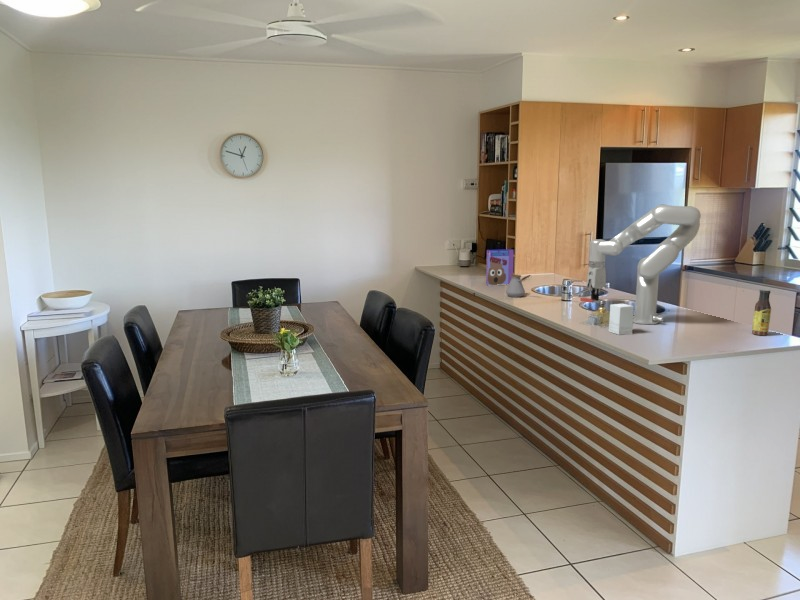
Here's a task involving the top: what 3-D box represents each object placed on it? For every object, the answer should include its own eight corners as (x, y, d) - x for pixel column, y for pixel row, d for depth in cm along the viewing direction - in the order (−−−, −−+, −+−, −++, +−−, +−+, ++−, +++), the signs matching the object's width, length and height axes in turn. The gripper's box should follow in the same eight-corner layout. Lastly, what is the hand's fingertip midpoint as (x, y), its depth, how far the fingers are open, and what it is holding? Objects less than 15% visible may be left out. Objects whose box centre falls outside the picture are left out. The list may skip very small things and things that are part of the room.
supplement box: (632, 333, 267) (634, 306, 265) (618, 335, 265) (620, 307, 263) (622, 330, 274) (623, 303, 272) (608, 331, 272) (609, 304, 270)
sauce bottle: (761, 336, 261) (766, 291, 257) (748, 333, 266) (752, 289, 263) (771, 335, 263) (776, 290, 260) (758, 332, 269) (762, 288, 265)
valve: (623, 321, 291) (624, 306, 290) (601, 327, 279) (602, 311, 278) (601, 318, 300) (601, 303, 299) (579, 323, 288) (579, 308, 287)
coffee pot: (502, 295, 366) (502, 271, 364) (518, 294, 370) (519, 270, 368) (521, 301, 347) (521, 275, 344) (538, 300, 351) (539, 274, 348)
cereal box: (488, 285, 404) (489, 250, 400) (486, 284, 408) (486, 249, 404) (512, 284, 408) (513, 249, 404) (509, 283, 412) (510, 248, 408)
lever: (606, 306, 288) (607, 300, 288) (603, 307, 286) (603, 301, 286) (583, 303, 298) (583, 297, 297) (579, 303, 296) (579, 298, 296)
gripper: (594, 266, 286) (592, 304, 290) (612, 264, 296) (609, 300, 299) (581, 265, 292) (579, 302, 295) (598, 262, 302) (596, 298, 305)
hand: (594, 301), depth 297 cm, fingers closed
